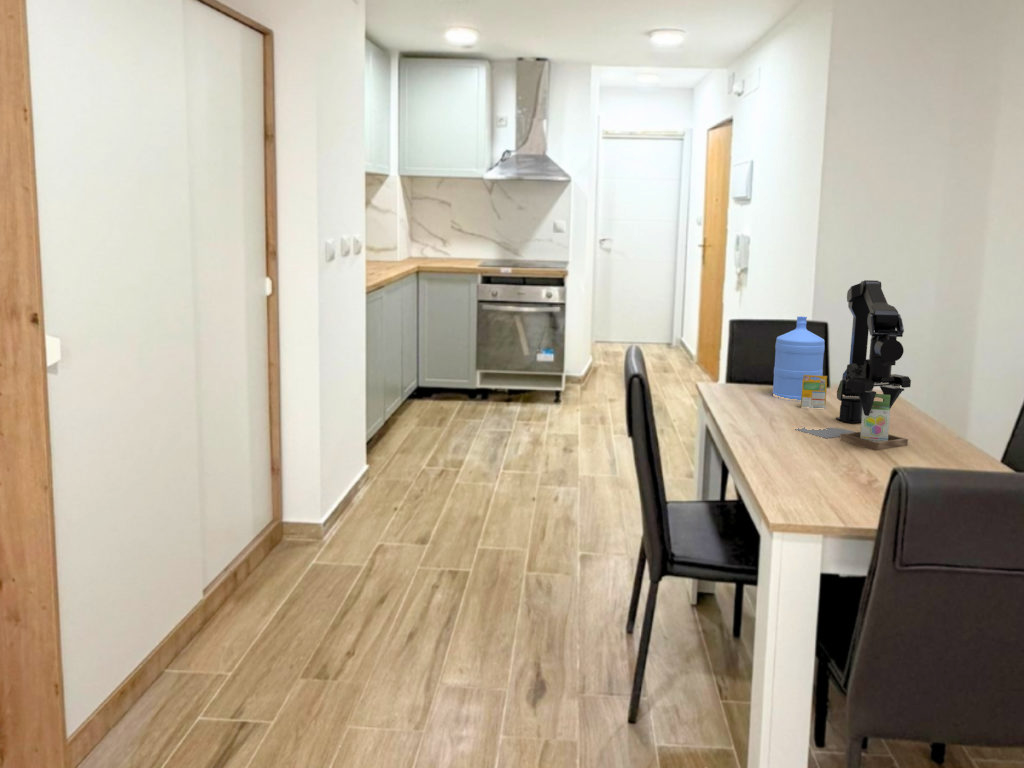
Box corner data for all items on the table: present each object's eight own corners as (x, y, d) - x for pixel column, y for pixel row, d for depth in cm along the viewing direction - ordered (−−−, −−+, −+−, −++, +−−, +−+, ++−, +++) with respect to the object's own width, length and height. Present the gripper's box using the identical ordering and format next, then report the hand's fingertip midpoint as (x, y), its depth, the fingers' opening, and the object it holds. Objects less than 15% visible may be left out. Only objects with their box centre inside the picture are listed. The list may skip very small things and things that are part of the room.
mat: (824, 425, 279) (824, 423, 279) (862, 435, 267) (862, 433, 267) (788, 429, 272) (788, 427, 272) (826, 439, 260) (826, 437, 260)
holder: (871, 437, 264) (871, 430, 264) (907, 446, 254) (908, 439, 253) (840, 441, 258) (840, 434, 258) (876, 450, 248) (876, 443, 248)
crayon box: (824, 410, 302) (827, 374, 300) (825, 412, 299) (827, 376, 297) (800, 409, 303) (802, 373, 301) (800, 411, 300) (803, 374, 298)
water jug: (826, 405, 311) (833, 319, 307) (778, 404, 311) (784, 318, 307) (812, 396, 327) (818, 315, 322) (766, 395, 327) (772, 314, 322)
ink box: (859, 444, 255) (863, 395, 253) (859, 441, 259) (863, 392, 257) (887, 446, 253) (891, 397, 251) (887, 443, 257) (891, 394, 254)
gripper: (880, 351, 264) (875, 406, 266) (832, 354, 255) (827, 411, 257) (914, 356, 254) (909, 413, 257) (865, 360, 245) (860, 419, 248)
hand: (875, 414), depth 255 cm, fingers closed on ink box, 7 cm apart
